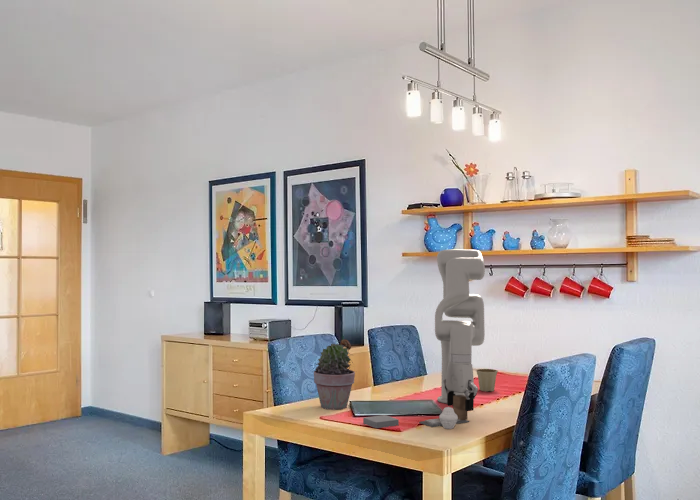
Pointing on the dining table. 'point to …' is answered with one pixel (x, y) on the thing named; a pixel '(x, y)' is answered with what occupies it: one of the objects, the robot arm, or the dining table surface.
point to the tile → (380, 421)
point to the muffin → (448, 418)
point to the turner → (458, 409)
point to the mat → (441, 423)
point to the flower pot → (486, 379)
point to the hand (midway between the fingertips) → (460, 407)
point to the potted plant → (334, 376)
